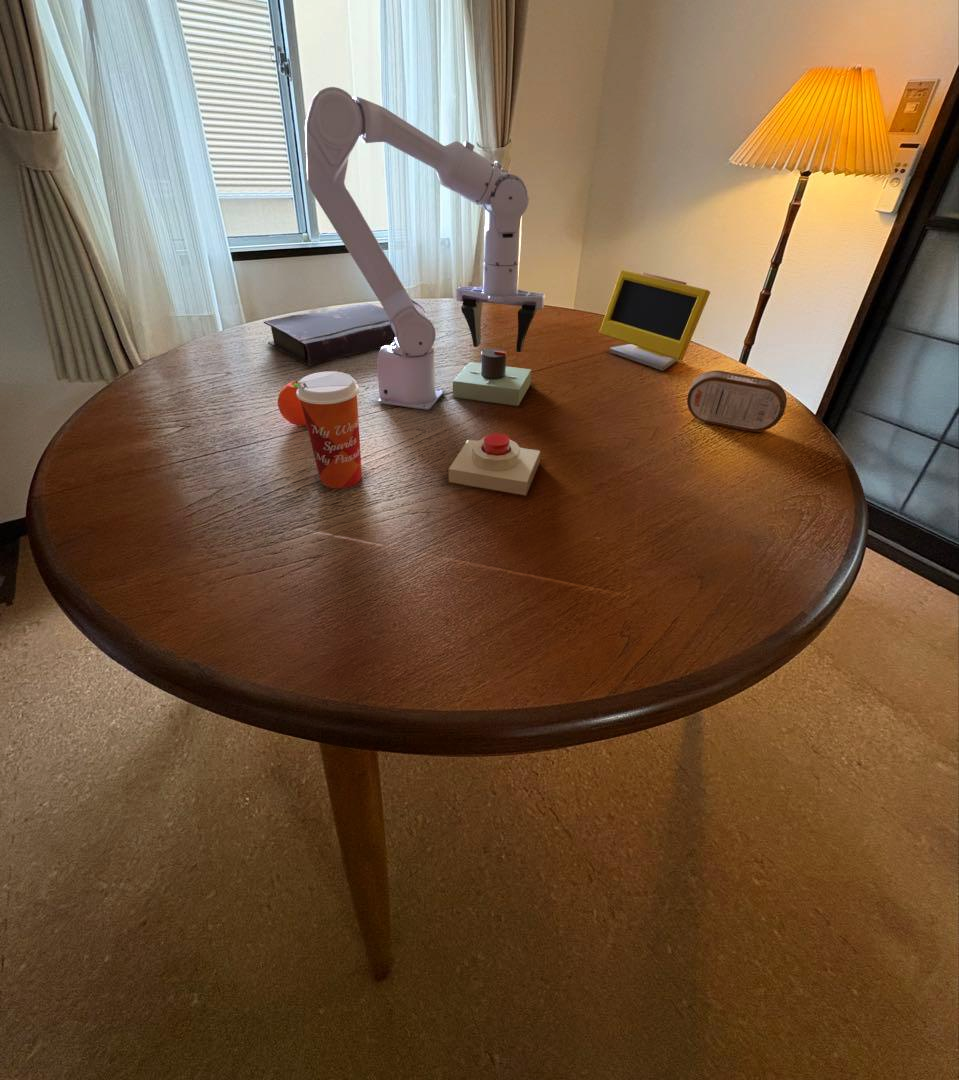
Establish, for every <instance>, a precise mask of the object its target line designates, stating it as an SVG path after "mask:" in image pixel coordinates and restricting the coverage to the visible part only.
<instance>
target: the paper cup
mask: <svg viewBox="0 0 959 1080" xmlns="http://www.w3.org/2000/svg"><path fill="white" fill-rule="evenodd" d="M298 381H299V383H298V389H297V392H296V395H297V397H298V398H299V399H300V401H301V405H302V409H303V413H304V417H305V421H306V429H307V433H308V437H309V441H310V445H311V448H312V452H313V457H314V461H315V464H316V468H317V472H318V475H319V479H320V482H321V483H322V485H323V486H325V487H326V488H330V489H346V488H350V487H353V486H355V485H356V484H358V483H359V482H360V481H361V478H362V455H361V454H362V453H361V440H360V439H361V438H360V423H359V407H358V405H359V404H358V394H359V392H360V389H361V387H360V385H359V384H358V383H357V381H356V379H354V378H353V377H352V376H351V375H350V374H348V373H346V372H341V371H333V370H330V371H329V370H328V371H319V372H314V373H310V374H307V375H305V376H303V377H302V378H300V380H298Z"/></svg>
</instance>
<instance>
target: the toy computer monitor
mask: <svg viewBox="0 0 959 1080" xmlns="http://www.w3.org/2000/svg"><path fill="white" fill-rule="evenodd" d="M710 295H711V291H710V290H708V289H705V288H701V287H697V286H694V285H693V286H692V285H689V284H688V283H687V282H685V281H682V280H677V279H674V278H669V277H665V276H661V275H657V274H652V273H648V272H641V273H639V272H635V271H629V270H625V269H620V272H619V274H618V277H617V280H616V283H615V286H614V288H613V291H612V294H611V297H610V299H609V303H608V306H607V309H606V312H605V315H604V317H603V321H602V323H601V326H600V329H599V332H598V334H599V335H603V336H605V337H608V338H612V339H614V340H617V341H620V342H622V343H623V342H624V343H625V344H622V345H617V346H611V347H610V348H609V353H610V354H612V355H615V356H619V357H620V358H621V357H622V358H624V359H627V360H630V361H633V362H635V363H638V364H641V365H644V366H647V367H650V368H653V369H655V370H658V371H661V372H664V371H665V370H666V369H668V368H670V367H671V366H672V365H673V364H675V363H676V362H677V361H681V362H682V361H683V359H684V357H685V355H686V352H687V350H688V347H689V346H690V344H691V343H690V342H691V341H692V339H693V336H694V333H695V331H696V328H697V326H698V325H699V324H698V323H699V322H700V319H701V316H702V314H703V311H704V309H705V306H706V304H707V302H708V299H709V297H710Z"/></svg>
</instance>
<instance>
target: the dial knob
mask: <svg viewBox="0 0 959 1080" xmlns="http://www.w3.org/2000/svg"><path fill="white" fill-rule="evenodd" d="M480 354H481V355H480V357H481V358H480V363H481V376H482V377H484V378H487V379H501V378H503V377H505V371H506V366H507V351H506V350H504V349H502V348H501V349H500V348H486V349H483V350H482V351H481V353H480Z"/></svg>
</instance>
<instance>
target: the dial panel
mask: <svg viewBox="0 0 959 1080" xmlns="http://www.w3.org/2000/svg"><path fill="white" fill-rule="evenodd" d="M531 379H532V369H531V368H523V367H522V368H521V367H515V366H507V365H506V371H505V377H503V378H501V379H487V378H484V377H482V376H481V362H474V361H469V362H468V363H467V364H466V365H465V366H464V367H463V369H461V371H460V372H458V374H457V376H456V377H455V378H454V379H453V380H452V397H453V398H457V399H465V400H472V401H479V402H485V403H493V404H500V405H507V406H514V407H518V406H519V405H520V404H521V402H522V401H523V398H524V396H525V395H526V393H527V391H528V390H529V387H530V386H531Z"/></svg>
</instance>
